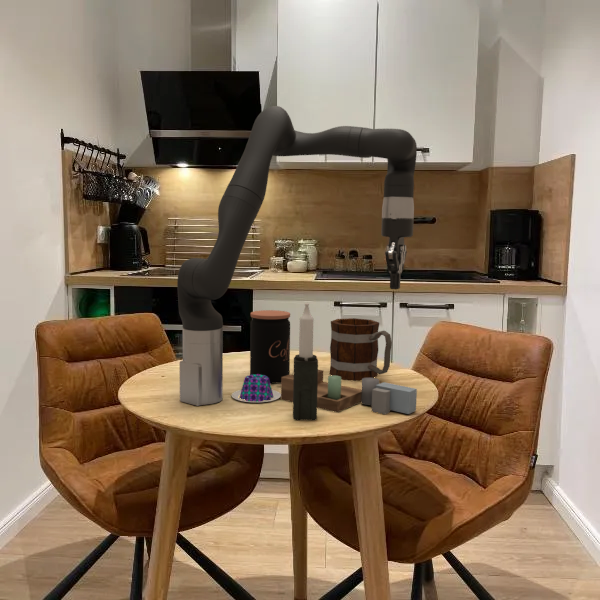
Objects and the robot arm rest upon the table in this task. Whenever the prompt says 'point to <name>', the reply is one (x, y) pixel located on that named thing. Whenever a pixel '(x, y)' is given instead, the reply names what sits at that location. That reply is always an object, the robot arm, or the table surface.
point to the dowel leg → (334, 387)
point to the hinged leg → (399, 395)
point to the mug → (357, 349)
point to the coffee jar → (270, 344)
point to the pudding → (256, 389)
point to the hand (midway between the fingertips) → (394, 288)
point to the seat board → (324, 394)
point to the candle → (305, 372)
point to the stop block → (381, 400)
